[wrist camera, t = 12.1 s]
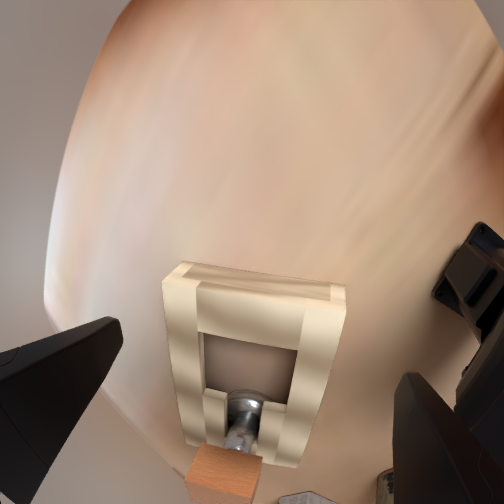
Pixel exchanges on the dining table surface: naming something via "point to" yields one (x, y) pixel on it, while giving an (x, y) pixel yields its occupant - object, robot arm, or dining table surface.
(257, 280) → the keyhole box
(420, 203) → the dining table surface
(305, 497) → the coffee box
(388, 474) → the mug
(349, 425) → the dining table surface
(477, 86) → the dining table surface
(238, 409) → the wooden block metal peg
